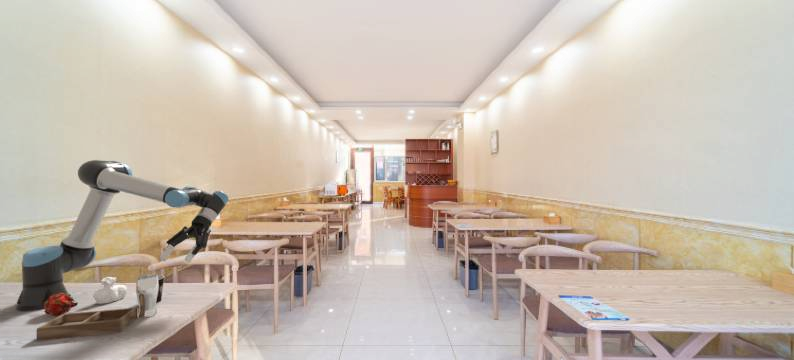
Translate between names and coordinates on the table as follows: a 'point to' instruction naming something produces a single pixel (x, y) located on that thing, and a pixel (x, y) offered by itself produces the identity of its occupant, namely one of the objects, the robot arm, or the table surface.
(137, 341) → the table surface
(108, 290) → the white lumpy irregular piece
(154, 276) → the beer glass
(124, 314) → the wooden tray
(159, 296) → the coffee mug
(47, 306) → the dragon fruit
